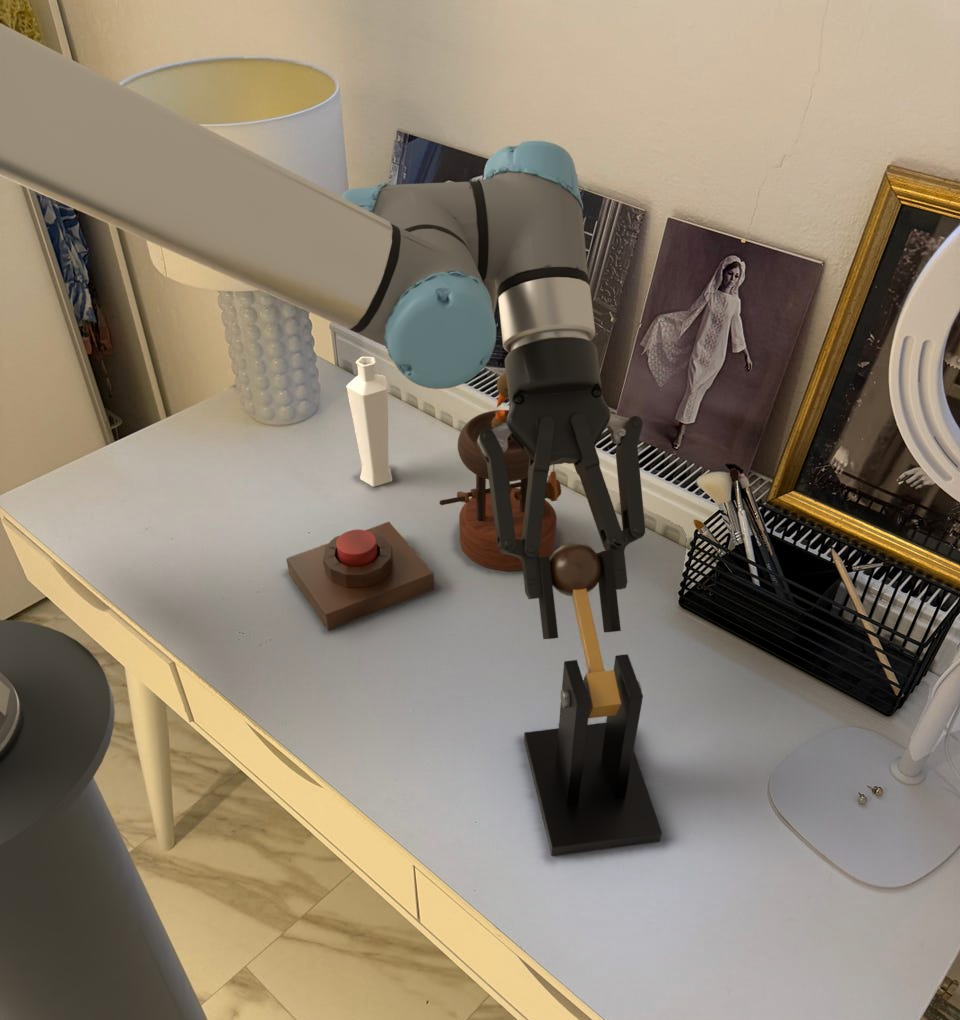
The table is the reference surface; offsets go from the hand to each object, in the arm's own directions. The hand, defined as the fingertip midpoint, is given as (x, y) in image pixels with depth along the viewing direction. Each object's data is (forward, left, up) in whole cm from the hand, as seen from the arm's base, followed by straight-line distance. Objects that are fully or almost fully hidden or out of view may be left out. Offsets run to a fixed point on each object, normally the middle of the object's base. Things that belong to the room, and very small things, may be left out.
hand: (581, 634), depth 78 cm
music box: (+9, +26, -12) cm, 30 cm away
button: (-7, +28, -8) cm, 30 cm away
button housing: (-7, +28, -12) cm, 31 cm away
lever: (0, 0, 0) cm, 0 cm away
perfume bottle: (+3, +44, -12) cm, 46 cm away
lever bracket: (-2, -6, -12) cm, 14 cm away
